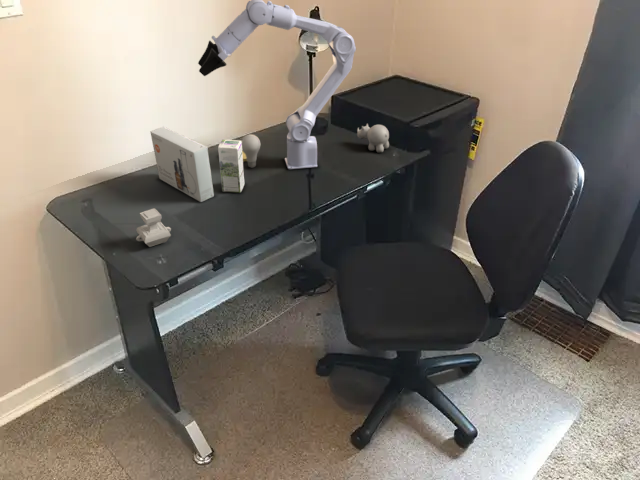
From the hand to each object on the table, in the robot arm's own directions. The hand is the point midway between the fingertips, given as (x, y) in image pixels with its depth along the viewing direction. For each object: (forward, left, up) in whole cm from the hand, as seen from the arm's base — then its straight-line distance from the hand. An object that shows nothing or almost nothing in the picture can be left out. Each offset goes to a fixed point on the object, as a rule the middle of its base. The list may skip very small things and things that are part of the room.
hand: (201, 69), depth 160 cm
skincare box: (+8, +10, -32) cm, 35 cm away
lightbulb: (-13, 0, -32) cm, 34 cm away
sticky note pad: (-8, -8, -32) cm, 34 cm away
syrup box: (-6, +13, -32) cm, 35 cm away
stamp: (+16, +38, -32) cm, 52 cm away
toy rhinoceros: (-55, -8, -32) cm, 64 cm away
